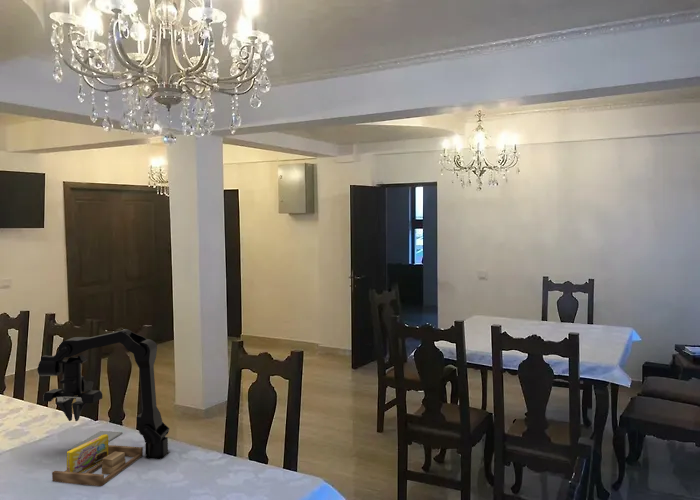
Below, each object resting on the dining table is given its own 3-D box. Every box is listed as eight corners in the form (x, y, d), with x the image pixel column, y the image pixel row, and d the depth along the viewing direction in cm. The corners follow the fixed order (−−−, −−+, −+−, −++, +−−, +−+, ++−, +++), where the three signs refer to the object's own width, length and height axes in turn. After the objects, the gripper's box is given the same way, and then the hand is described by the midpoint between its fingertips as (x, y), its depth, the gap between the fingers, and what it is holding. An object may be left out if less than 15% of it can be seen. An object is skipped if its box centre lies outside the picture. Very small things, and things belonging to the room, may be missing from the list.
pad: (122, 433, 211) (122, 432, 211) (91, 452, 193) (91, 450, 193) (100, 432, 212) (100, 430, 212) (68, 451, 195) (68, 449, 195)
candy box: (71, 478, 173) (70, 452, 173) (66, 478, 174) (65, 451, 173) (109, 458, 188) (108, 434, 188) (104, 457, 189) (103, 433, 189)
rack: (142, 456, 190) (142, 447, 189) (101, 486, 168) (101, 476, 168) (98, 452, 193) (98, 444, 193) (52, 482, 171) (52, 472, 171)
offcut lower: (125, 466, 183) (125, 458, 182) (113, 475, 176) (113, 467, 176) (114, 465, 183) (114, 458, 183) (101, 475, 176) (101, 467, 176)
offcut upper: (124, 460, 181) (124, 452, 181) (112, 467, 176) (111, 459, 175) (115, 458, 182) (115, 451, 182) (102, 466, 177) (102, 458, 176)
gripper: (111, 370, 196) (112, 414, 197) (63, 368, 199) (65, 412, 200) (91, 378, 185) (93, 425, 186) (41, 377, 188) (42, 422, 189)
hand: (73, 420), depth 190 cm, fingers closed
